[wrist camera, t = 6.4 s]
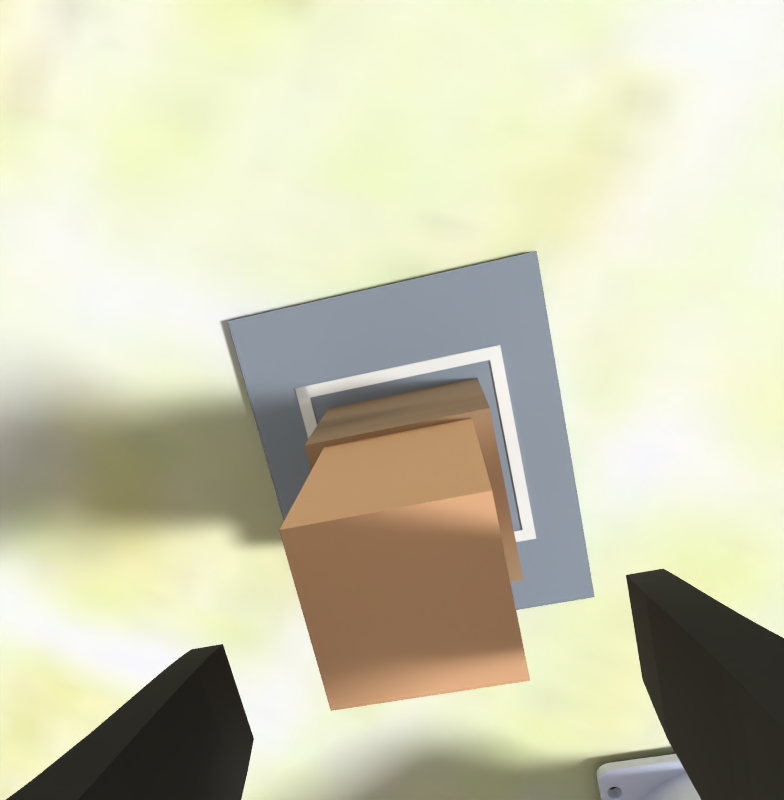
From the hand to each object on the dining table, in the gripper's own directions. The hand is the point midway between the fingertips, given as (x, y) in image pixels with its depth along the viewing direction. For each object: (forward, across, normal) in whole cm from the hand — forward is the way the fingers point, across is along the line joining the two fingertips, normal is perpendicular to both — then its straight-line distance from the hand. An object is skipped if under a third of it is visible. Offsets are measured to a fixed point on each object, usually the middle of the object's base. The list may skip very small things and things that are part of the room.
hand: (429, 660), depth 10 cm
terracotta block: (+6, 0, 0) cm, 6 cm away
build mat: (+10, 0, 0) cm, 10 cm away
